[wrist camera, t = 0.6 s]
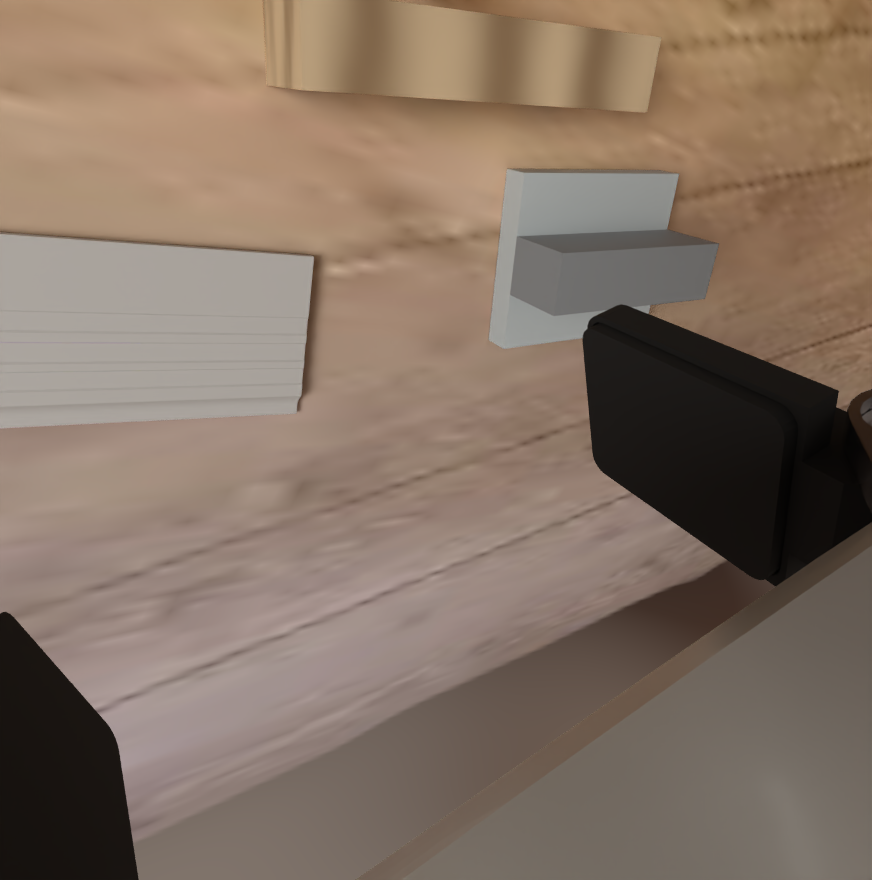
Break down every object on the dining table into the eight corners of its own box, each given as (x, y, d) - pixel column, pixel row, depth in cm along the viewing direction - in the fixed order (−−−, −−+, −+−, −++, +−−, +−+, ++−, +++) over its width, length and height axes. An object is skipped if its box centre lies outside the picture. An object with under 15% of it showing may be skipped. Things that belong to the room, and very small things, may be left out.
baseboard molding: (290, 427, 46) (305, 250, 42) (304, 445, 44) (322, 261, 39) (-370, 467, 31) (-469, 191, 26) (-400, 499, 29) (-513, 204, 24)
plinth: (507, 168, 45) (573, 184, 40) (659, 170, 51) (734, 183, 46) (488, 339, 51) (544, 373, 45) (628, 322, 57) (691, 350, 52)
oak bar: (265, 85, 36) (302, 90, 32) (261, -4, 34) (299, -12, 30) (583, 106, 46) (646, 112, 42) (594, 38, 44) (661, 37, 40)
